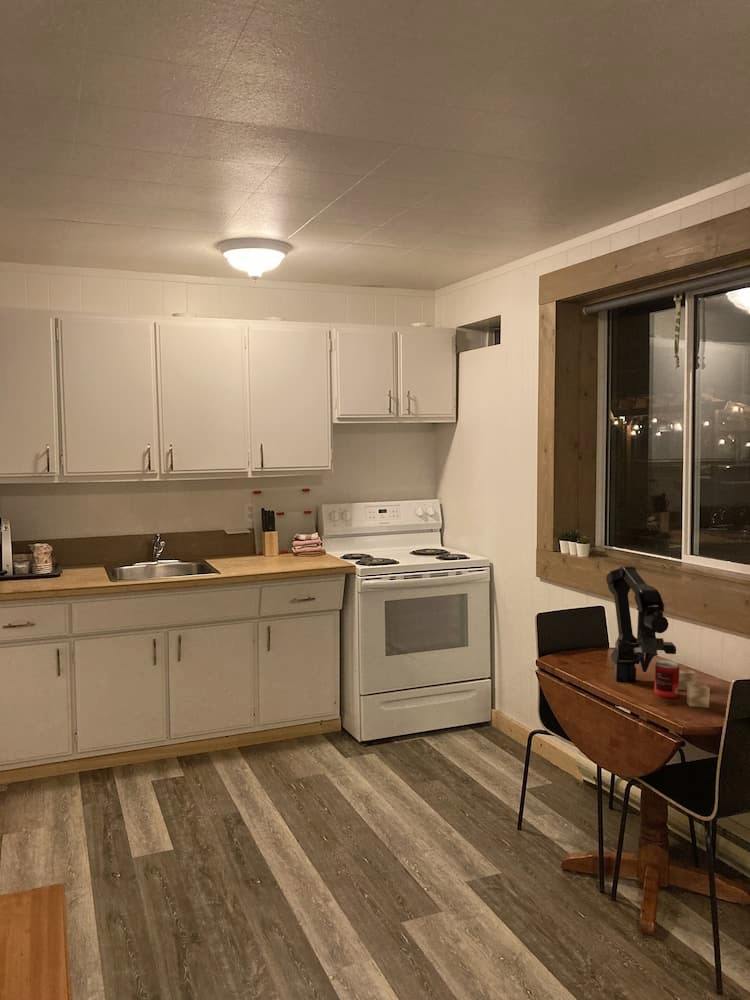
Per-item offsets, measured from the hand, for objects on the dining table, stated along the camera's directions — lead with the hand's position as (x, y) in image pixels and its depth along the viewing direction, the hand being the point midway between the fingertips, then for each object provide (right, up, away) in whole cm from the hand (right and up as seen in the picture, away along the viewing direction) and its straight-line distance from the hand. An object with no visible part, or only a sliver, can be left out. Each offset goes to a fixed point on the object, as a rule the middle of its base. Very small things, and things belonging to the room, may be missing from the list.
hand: (644, 671), depth 282 cm
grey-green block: (+16, -7, +8) cm, 19 cm away
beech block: (+14, -9, -10) cm, 19 cm away
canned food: (+7, -8, 0) cm, 11 cm away
